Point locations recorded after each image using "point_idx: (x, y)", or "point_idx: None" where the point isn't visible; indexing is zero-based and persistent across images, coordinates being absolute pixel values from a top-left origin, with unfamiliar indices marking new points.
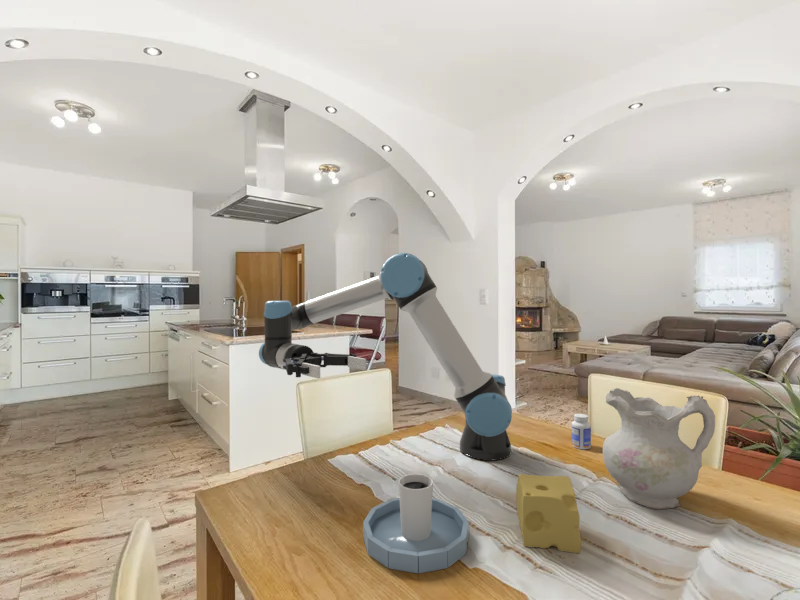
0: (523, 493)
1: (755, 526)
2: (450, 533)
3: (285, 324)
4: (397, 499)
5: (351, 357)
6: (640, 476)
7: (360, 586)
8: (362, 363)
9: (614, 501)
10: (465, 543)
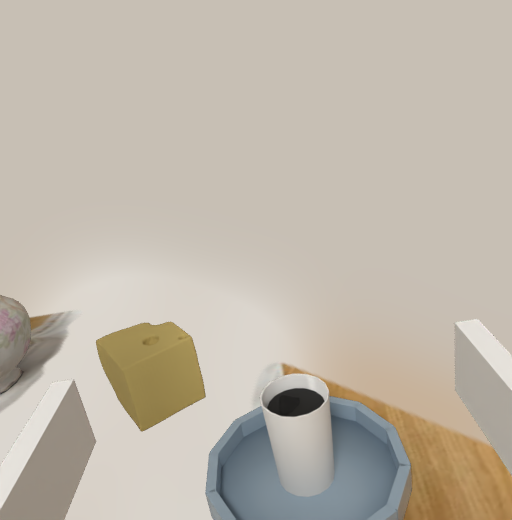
0: (185, 339)
1: None
2: (262, 444)
3: None
4: None
5: (6, 505)
6: (26, 331)
7: (453, 441)
8: (78, 417)
9: (17, 398)
10: None
